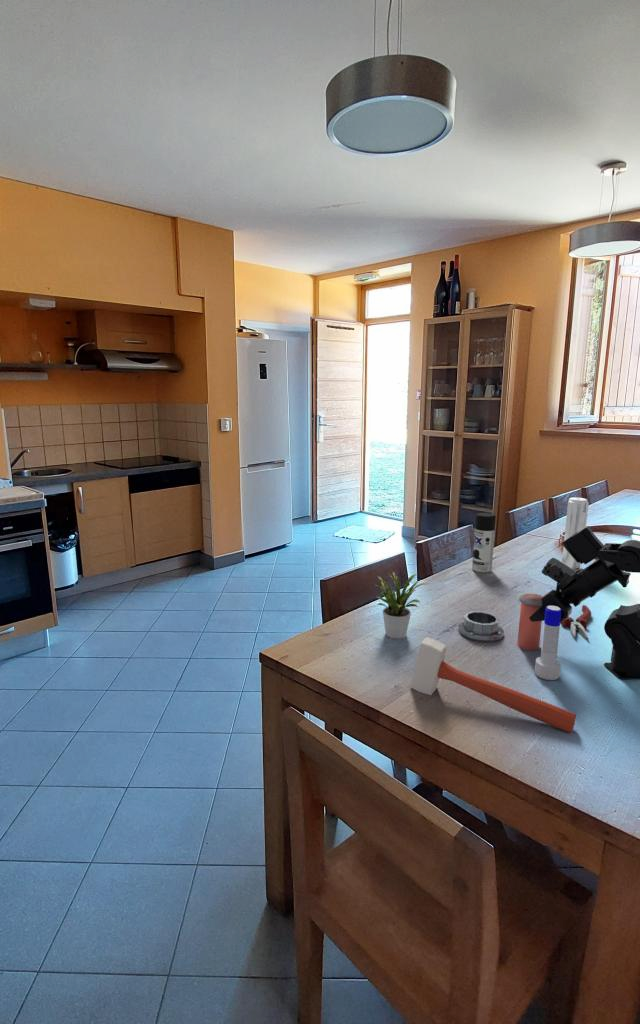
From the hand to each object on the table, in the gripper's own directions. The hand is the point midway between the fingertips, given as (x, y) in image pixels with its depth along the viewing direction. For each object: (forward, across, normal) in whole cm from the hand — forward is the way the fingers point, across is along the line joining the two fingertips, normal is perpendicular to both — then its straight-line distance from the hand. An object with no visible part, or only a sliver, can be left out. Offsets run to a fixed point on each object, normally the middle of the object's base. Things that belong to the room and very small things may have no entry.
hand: (536, 613), depth 128 cm
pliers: (+5, -21, +8) cm, 23 cm away
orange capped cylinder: (+7, 0, +5) cm, 9 cm away
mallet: (+6, +32, +7) cm, 33 cm away
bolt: (+2, +12, +11) cm, 16 cm away
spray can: (+29, -49, -16) cm, 59 cm away
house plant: (+27, +14, -14) cm, 33 cm away
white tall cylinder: (+12, -72, +1) cm, 73 cm away
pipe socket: (+15, 0, -3) cm, 16 cm away
